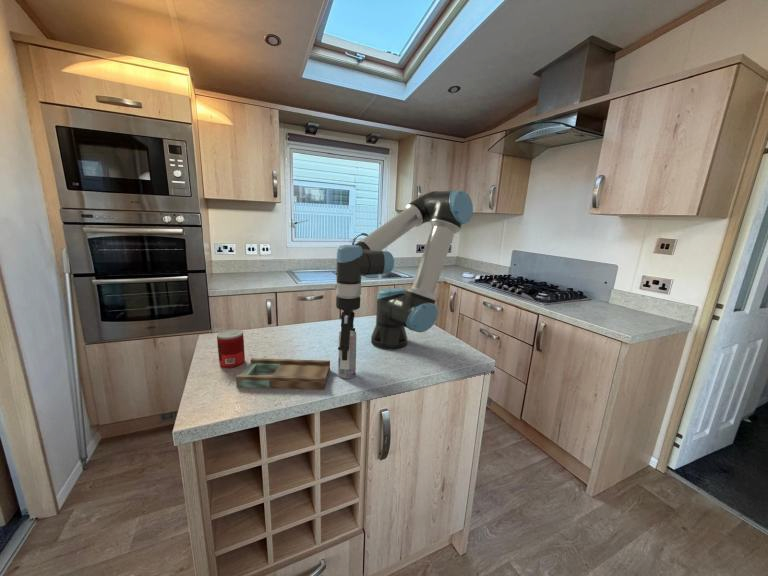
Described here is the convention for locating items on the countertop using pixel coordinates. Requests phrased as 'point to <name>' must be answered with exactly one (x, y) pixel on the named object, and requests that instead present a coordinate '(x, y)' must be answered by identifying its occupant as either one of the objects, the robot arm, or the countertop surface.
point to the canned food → (231, 348)
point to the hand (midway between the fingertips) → (346, 358)
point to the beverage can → (352, 357)
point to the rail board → (285, 374)
